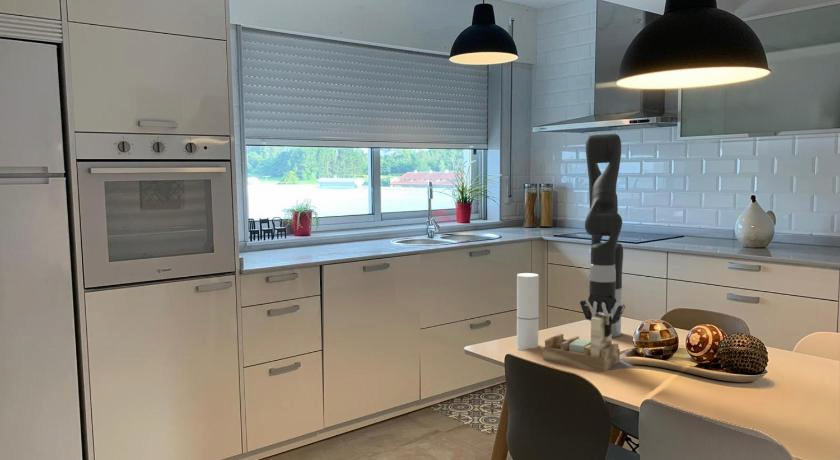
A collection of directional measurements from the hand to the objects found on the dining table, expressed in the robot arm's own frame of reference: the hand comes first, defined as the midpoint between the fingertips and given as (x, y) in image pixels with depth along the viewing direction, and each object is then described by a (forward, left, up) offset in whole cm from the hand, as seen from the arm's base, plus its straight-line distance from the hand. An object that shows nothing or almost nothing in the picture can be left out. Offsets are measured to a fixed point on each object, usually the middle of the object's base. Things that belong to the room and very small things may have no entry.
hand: (601, 335), depth 196 cm
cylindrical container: (-5, -28, -10) cm, 30 cm away
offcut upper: (0, -7, -6) cm, 9 cm away
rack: (0, -7, -10) cm, 12 cm away
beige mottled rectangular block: (0, 0, -9) cm, 9 cm away
